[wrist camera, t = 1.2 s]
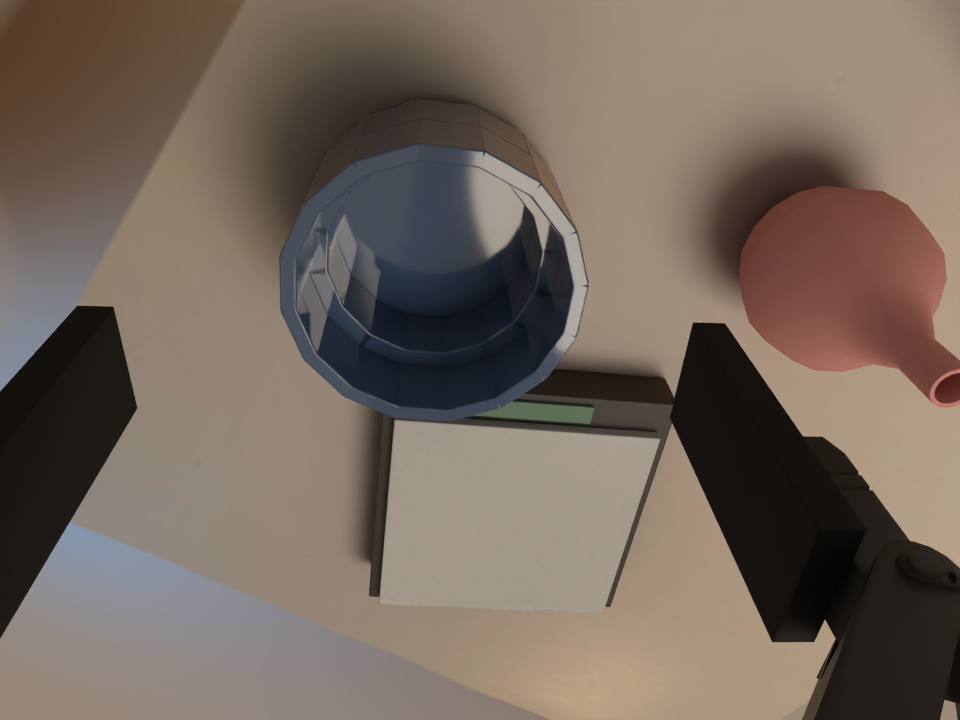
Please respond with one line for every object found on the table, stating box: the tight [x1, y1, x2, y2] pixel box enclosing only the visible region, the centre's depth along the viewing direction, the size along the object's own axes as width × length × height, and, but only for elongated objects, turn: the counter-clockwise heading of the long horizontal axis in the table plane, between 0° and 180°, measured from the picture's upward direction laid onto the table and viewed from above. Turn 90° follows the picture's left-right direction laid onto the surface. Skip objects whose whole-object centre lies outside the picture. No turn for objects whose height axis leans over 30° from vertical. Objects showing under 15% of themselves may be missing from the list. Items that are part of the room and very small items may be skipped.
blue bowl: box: [279, 99, 589, 421], centre depth 30 cm, size 11×11×7 cm
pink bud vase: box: [739, 186, 960, 407], centre depth 29 cm, size 8×8×12 cm
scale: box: [369, 370, 674, 614], centre depth 39 cm, size 15×14×3 cm
